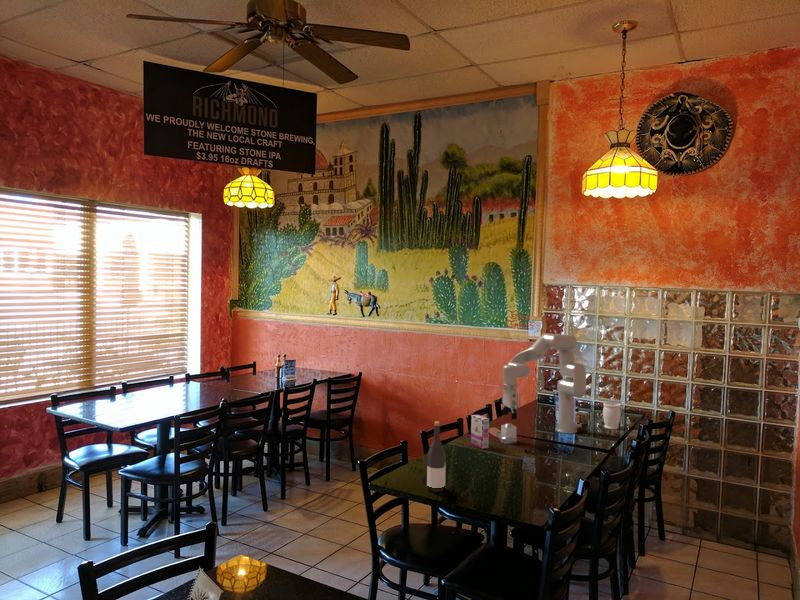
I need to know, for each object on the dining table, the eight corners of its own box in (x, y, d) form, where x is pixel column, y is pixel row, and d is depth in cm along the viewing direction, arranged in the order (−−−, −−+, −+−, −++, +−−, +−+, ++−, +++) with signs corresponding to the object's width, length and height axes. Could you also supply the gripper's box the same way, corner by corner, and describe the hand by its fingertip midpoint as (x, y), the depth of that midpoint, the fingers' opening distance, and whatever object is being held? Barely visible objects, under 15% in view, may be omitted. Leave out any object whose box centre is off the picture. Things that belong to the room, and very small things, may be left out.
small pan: (498, 431, 355) (498, 419, 355) (519, 443, 330) (519, 431, 330) (484, 432, 352) (484, 420, 352) (504, 444, 328) (505, 432, 327)
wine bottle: (425, 486, 263) (426, 419, 262) (443, 486, 264) (444, 419, 263) (427, 493, 255) (428, 424, 254) (446, 492, 256) (447, 424, 254)
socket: (511, 434, 337) (511, 422, 337) (516, 437, 331) (516, 425, 331) (501, 435, 335) (501, 423, 335) (506, 438, 329) (506, 425, 329)
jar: (621, 430, 361) (622, 406, 360) (604, 429, 363) (604, 405, 362) (618, 425, 371) (619, 402, 371) (601, 425, 373) (601, 401, 372)
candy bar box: (489, 448, 321) (490, 418, 320) (481, 449, 319) (482, 419, 318) (477, 443, 331) (478, 414, 330) (470, 444, 329) (470, 414, 328)
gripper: (523, 389, 325) (523, 420, 326) (508, 383, 341) (508, 412, 342) (511, 390, 322) (511, 421, 324) (496, 384, 339) (496, 413, 340)
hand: (509, 416), depth 333 cm, fingers open, 9 cm apart
